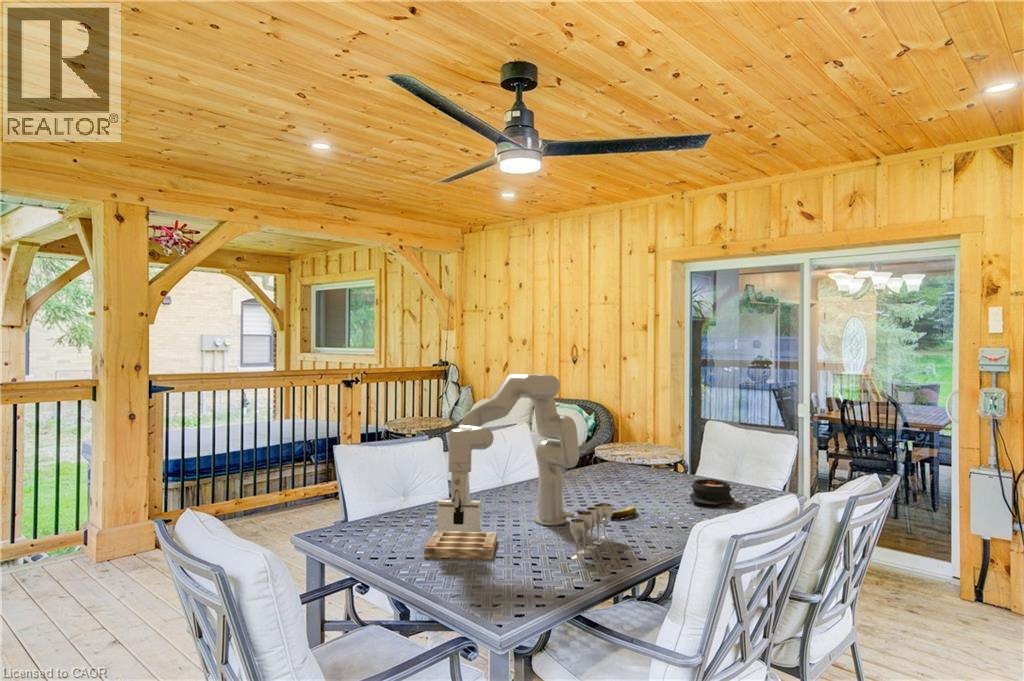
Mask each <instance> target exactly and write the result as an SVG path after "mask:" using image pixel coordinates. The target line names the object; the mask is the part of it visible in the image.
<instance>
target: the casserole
mask: <svg viewBox="0 0 1024 681" xmlns="http://www.w3.org/2000/svg"><path fill="white" fill-rule="evenodd" d="M691 488H692V490H693V492H692V493H690V494H689V498H690V501H692V502H693V503H698V504H702V505H711V506H712V505H714V506H716V505H717V504H718V505H723V504H722V503H724V504H726V503H732V502H733V501H734V497H733V496H732V494H731V493H730V492H731V491H732V487H731V486H730V484H729V483H728V482H727V481H723V480H718V479H705V478H703V479H697V480H694V481H693V482H692V485H691Z"/></svg>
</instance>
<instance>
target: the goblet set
mask: <svg viewBox="0 0 1024 681" xmlns="http://www.w3.org/2000/svg"><path fill="white" fill-rule="evenodd" d="M613 511H614V510H613V507H612V504H610V503H608V502H601V503H598V504H594V505H593V507H591V506H590V507H586V510H581V511H578V512H577V514H576V518H571V520H570V523H569V530H570V534H571V536H572V537H573V539H574V540H575V545H576V546H575V547H576V554H573V555H570V556H569V558H571V559H572V560H576V561H579V560H580V561H581V560H583V559H584V558H585V556H583V554H587V555H590V554H589V553H591V554H592V551H591V550H590V549H588V548H596V547H597V546H596V545H594V546H593V531H594V527H595V525H596V528H597V540H594V542H596V543H602V542H603V541H602V540H600V539H599V535H600V534H599V533H600V526H601V523H600V522H602V523H603V524H602V525H603V535H601V536H602V537H601V538H603V539H608V538H609V537H610V536H608V537H606V526H607V525H606V523H608V521H609V520H610V518H611V516H612V514H613ZM589 531H590V544H588V545H589V546H588V545H587V546H588V548H587V549H586V537H587V534H588V532H589ZM582 536H583V537H582ZM581 538H583V549H579V542H580V539H581ZM601 541H602V542H601ZM578 549H579V550H578ZM596 549H597V548H596ZM590 551H591V552H590ZM579 553H580V554H579Z"/></svg>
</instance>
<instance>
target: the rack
mask: <svg viewBox="0 0 1024 681" xmlns="http://www.w3.org/2000/svg"><path fill="white" fill-rule="evenodd" d="M497 535H498V534H497V532H496V531H495V532H494V531H480V532H459V531H437V530H434V531H433V534H432V535H431V537H430V538H429V540H428V541H427V543H426V544H425V545H424V546H425V547H424V552H423V553H424V555H423V556H424V558H431V557H433V558H435V559H438V558H439V559H471V560H473V559H477V560H486V559H487V560H492V559H493V557H494V553H495V548H496V545H497V540H498V536H497Z"/></svg>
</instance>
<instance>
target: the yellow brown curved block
mask: <svg viewBox="0 0 1024 681" xmlns="http://www.w3.org/2000/svg"><path fill="white" fill-rule="evenodd" d="M636 512H637V508H636V507H635V506H628V507H625V508H623V509H620V510H613V514H612V516H611V520H612V519H621V518H626V517H629V516H632V515H633V516H634V515H636ZM633 516H632V517H633ZM629 518H630V517H629ZM626 519H627V518H626Z"/></svg>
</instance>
